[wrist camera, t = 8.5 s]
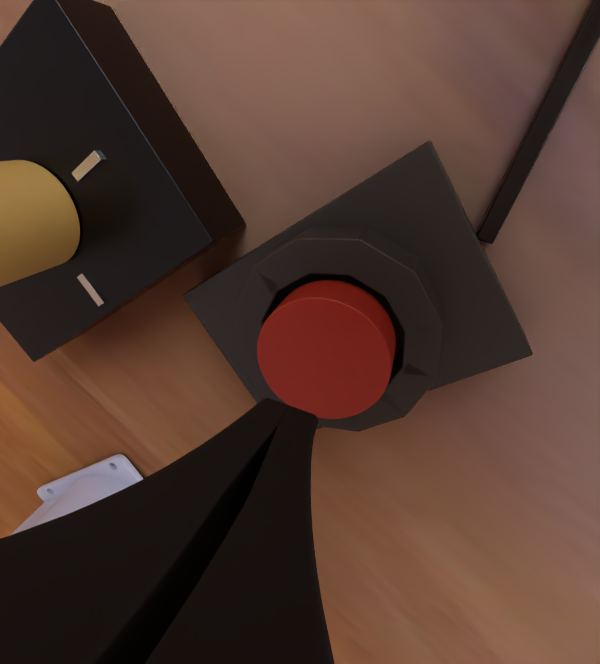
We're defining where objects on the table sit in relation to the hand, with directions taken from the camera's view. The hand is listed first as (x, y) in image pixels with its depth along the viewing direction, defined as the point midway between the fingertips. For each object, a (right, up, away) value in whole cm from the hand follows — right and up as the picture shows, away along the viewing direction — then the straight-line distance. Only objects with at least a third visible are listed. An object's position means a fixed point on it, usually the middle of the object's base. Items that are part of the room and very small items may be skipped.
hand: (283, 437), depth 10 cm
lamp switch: (+2, +2, +5) cm, 6 cm away
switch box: (+2, +4, +8) cm, 9 cm away
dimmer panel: (-9, +8, +9) cm, 15 cm away
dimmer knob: (-10, +7, +6) cm, 14 cm away
